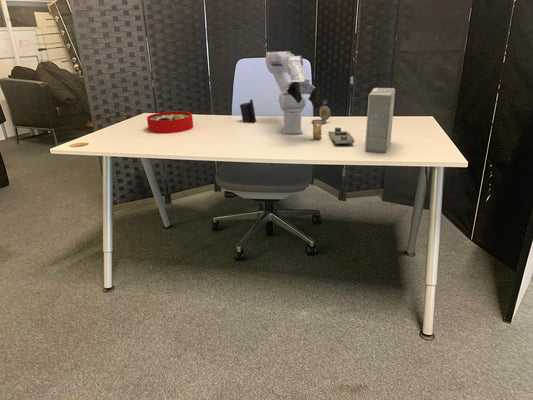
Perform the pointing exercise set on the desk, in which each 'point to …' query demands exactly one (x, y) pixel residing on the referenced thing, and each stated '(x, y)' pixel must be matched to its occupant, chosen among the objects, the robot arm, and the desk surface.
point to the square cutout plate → (341, 137)
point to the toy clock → (170, 122)
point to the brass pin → (316, 131)
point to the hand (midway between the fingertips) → (308, 103)
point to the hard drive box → (379, 119)
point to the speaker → (248, 112)
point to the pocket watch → (323, 114)
